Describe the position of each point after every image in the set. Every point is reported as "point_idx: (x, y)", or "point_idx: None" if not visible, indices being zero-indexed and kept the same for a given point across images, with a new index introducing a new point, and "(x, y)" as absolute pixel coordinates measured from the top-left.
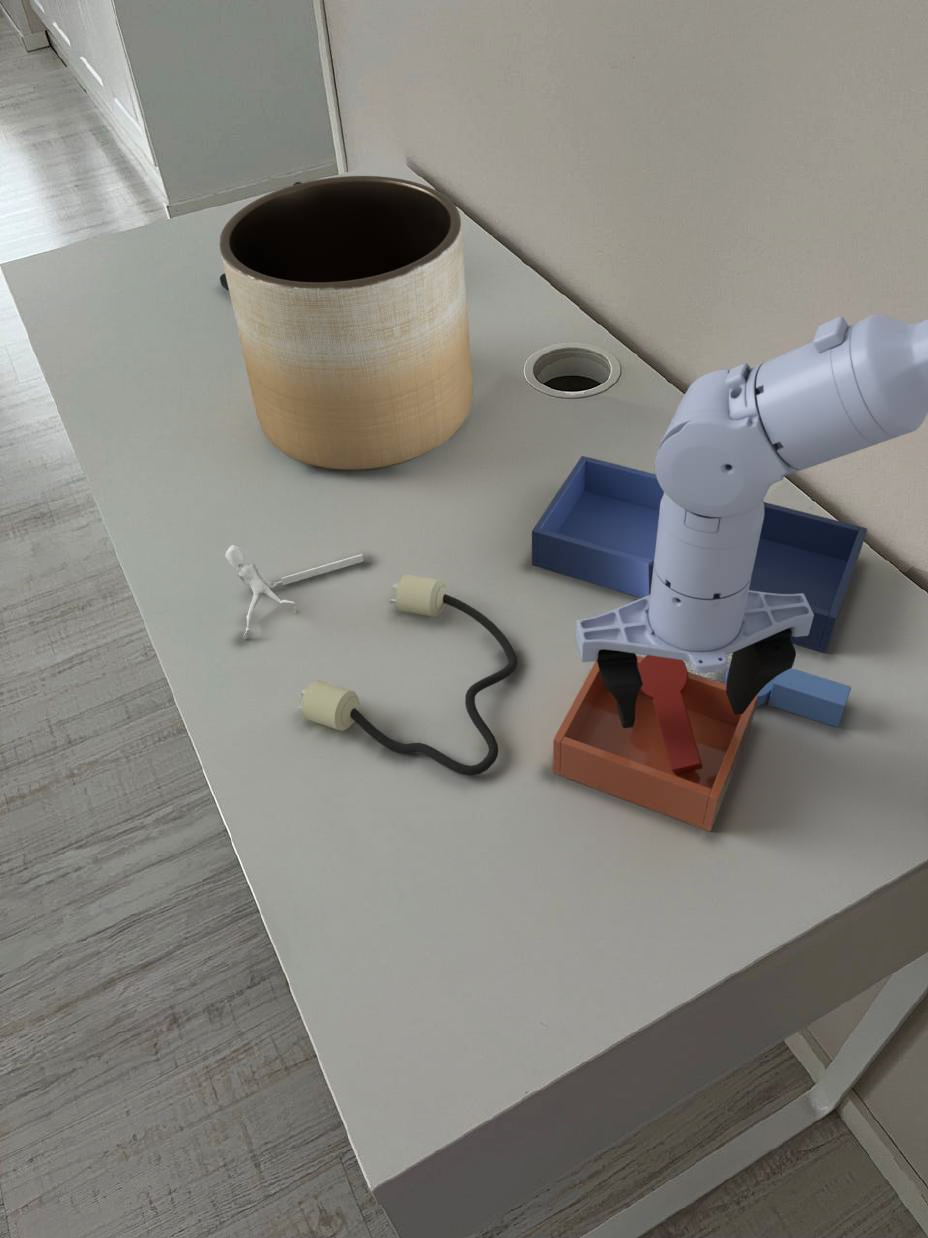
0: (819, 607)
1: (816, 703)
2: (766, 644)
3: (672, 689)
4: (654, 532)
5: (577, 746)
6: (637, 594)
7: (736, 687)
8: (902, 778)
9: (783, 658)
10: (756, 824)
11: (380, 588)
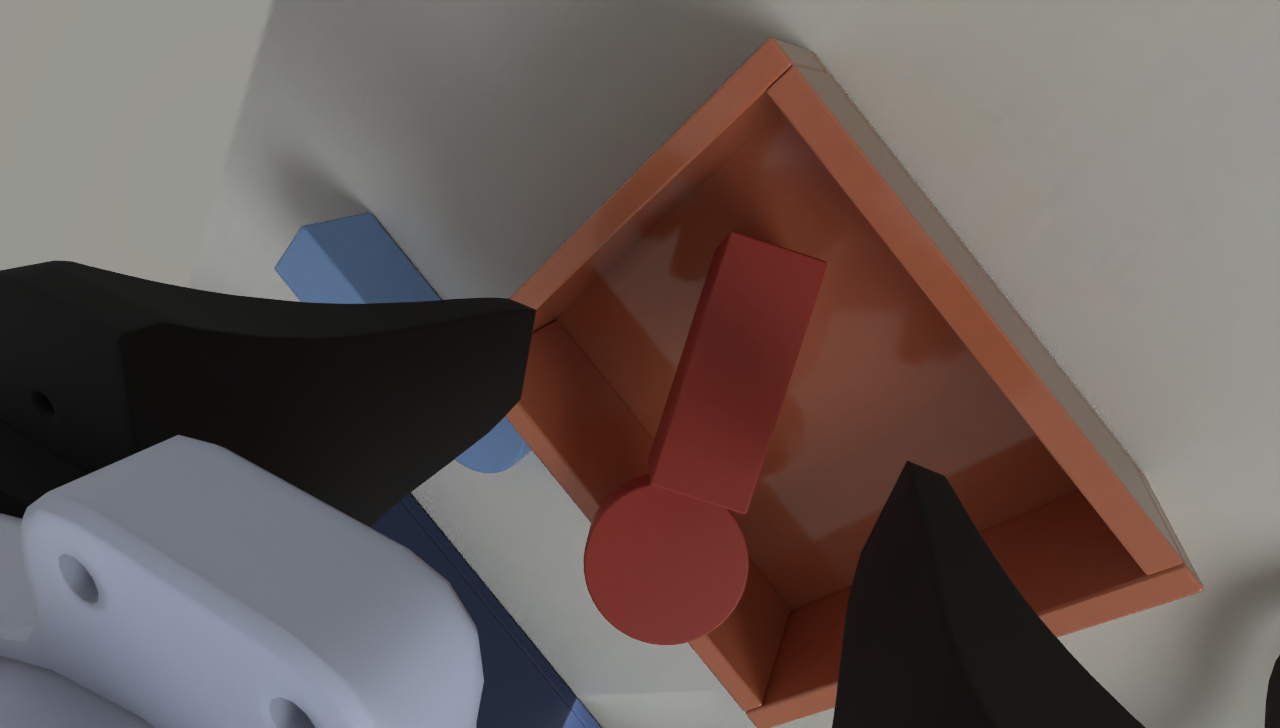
0: None
1: (364, 274)
2: (79, 453)
3: (664, 503)
4: None
5: (1133, 513)
6: (591, 726)
7: (462, 380)
8: (301, 15)
9: (17, 315)
10: (673, 23)
11: None
